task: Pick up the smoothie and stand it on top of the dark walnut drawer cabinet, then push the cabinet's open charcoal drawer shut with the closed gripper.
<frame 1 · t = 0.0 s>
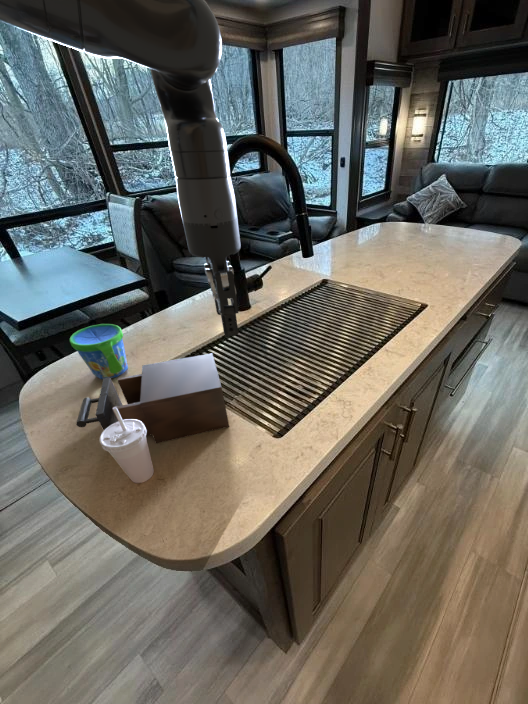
hand: (227, 323, 56), 19 cm above the worktop, tool pointing down, fingers open, 8 cm apart
cabinet: (191, 414, 68), on the worktop
drawer: (131, 406, 62), point 5 cm above the worktop, slide at 6.0 cm
snack cup: (112, 372, 81), on the worktop
smoothie: (142, 474, 56), on the worktop
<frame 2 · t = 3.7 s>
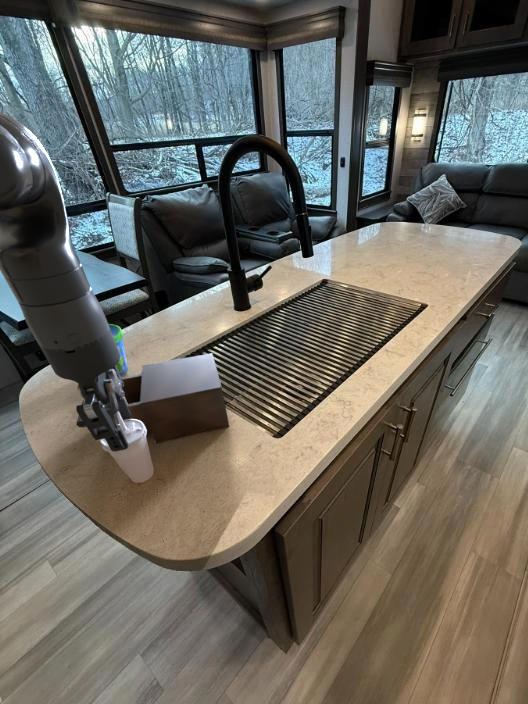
hand: (122, 432, 50), 10 cm above the worktop, tool pointing down, fingers closed on smoothie, 6 cm apart
smoothie: (142, 474, 56), on the worktop, touching gripper
everything else where it was.
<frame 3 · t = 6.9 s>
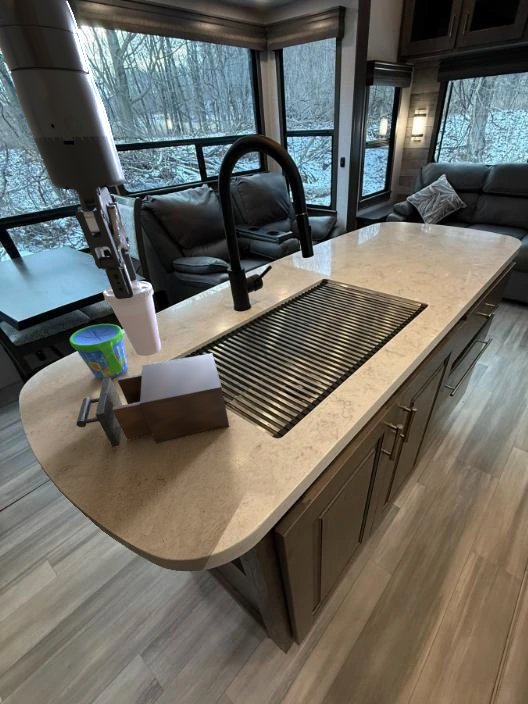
hand: (127, 288, 46), 28 cm above the worktop, tool pointing down, fingers closed on smoothie, 6 cm apart
smoothie: (149, 350, 52), point 18 cm above the worktop, touching gripper
everything else where it was.
when the fingers open (19 cm above the worktop, at t = 10.0 s): smoothie stays where it is, resting on cabinet.
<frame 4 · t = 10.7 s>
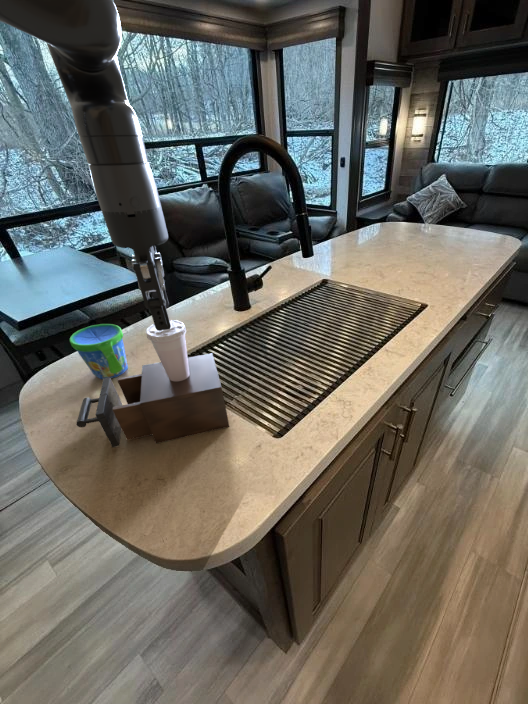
hand: (163, 317, 54), 21 cm above the worktop, tool pointing down, fingers open, 8 cm apart
smoothie: (179, 376, 62), point 9 cm above the worktop, touching cabinet
everything else where it was.
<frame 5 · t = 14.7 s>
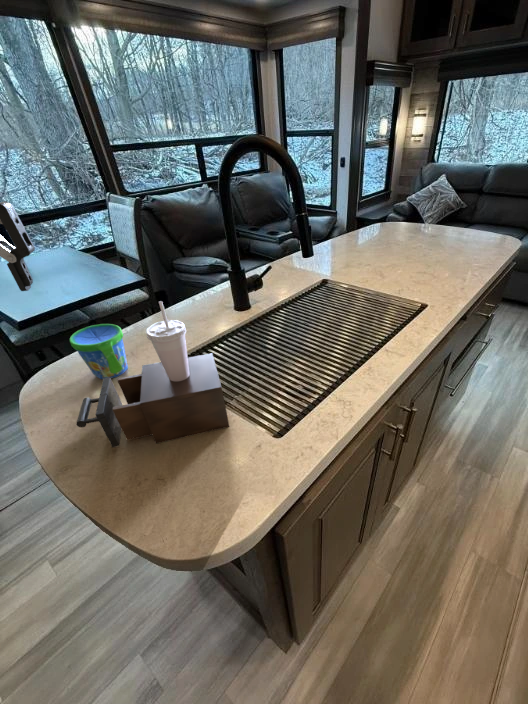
nothing on the worktop moved.
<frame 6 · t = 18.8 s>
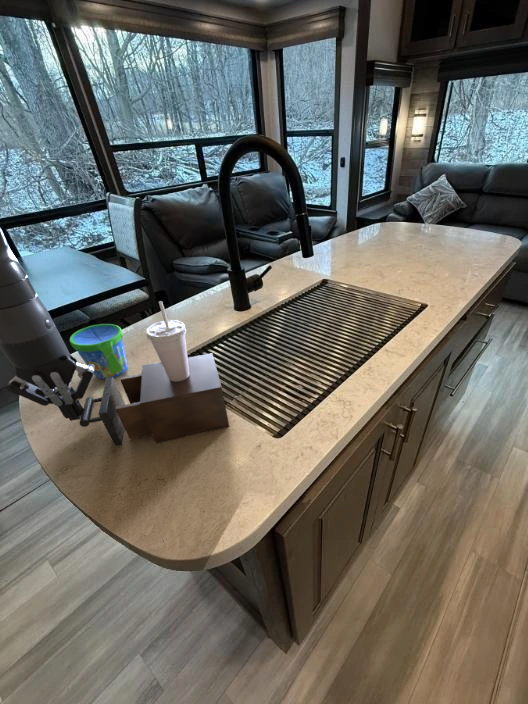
hand: (76, 417, 60), 5 cm above the worktop, tool pointing down, fingers closed
drawer: (134, 406, 62), point 5 cm above the worktop, slide at 5.5 cm
everything else where it was.
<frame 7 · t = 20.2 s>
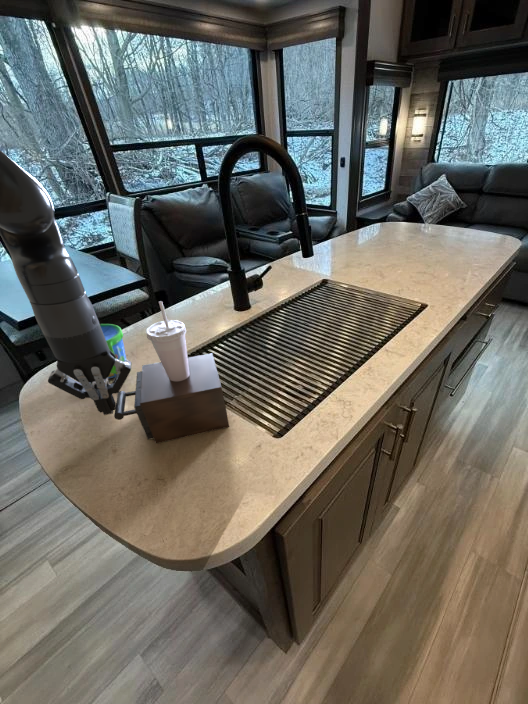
hand: (109, 411, 61), 5 cm above the worktop, tool pointing down, fingers closed
drawer: (165, 400, 64), point 5 cm above the worktop, slide at 0.0 cm, touching cabinet, gripper
everything else where it was.
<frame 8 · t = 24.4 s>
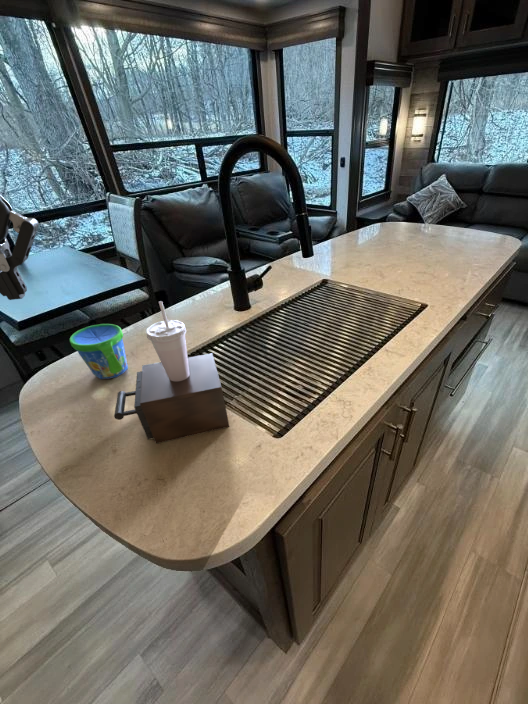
hand: (17, 297, 46), 27 cm above the worktop, tool pointing down, fingers closed
drawer: (165, 400, 64), point 5 cm above the worktop, slide at 0.0 cm
everything else where it was.
at the end: drawer slide at 0.0 cm; smoothie inside the target area on the cabinet (0.1 cm from its centre), point 9.4 cm above the cabinet's base; smoothie tilted 0° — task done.
